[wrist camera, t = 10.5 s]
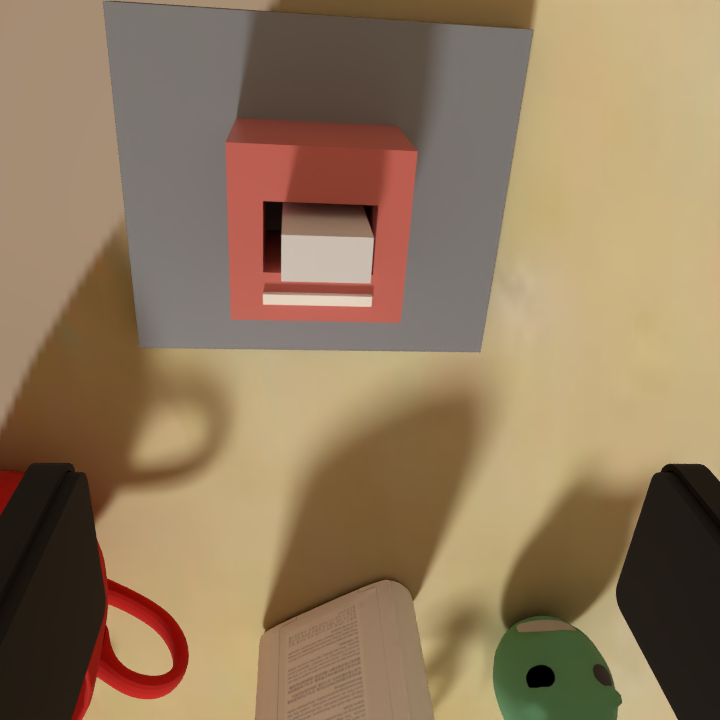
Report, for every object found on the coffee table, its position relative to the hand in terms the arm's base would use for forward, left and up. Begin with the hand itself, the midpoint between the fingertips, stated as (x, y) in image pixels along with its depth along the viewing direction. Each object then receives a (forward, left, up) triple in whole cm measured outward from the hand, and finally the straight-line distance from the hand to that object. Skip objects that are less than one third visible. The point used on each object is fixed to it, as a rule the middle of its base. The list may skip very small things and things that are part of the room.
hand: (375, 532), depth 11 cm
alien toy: (-15, +28, -21) cm, 38 cm away
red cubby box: (0, 0, -20) cm, 20 cm away
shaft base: (0, 0, -21) cm, 21 cm away
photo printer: (-2, +27, -21) cm, 34 cm away
